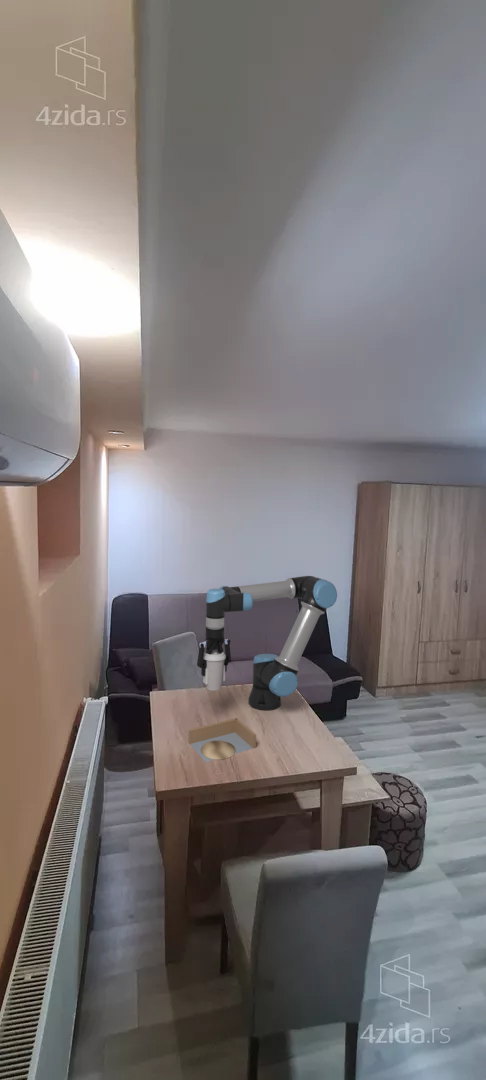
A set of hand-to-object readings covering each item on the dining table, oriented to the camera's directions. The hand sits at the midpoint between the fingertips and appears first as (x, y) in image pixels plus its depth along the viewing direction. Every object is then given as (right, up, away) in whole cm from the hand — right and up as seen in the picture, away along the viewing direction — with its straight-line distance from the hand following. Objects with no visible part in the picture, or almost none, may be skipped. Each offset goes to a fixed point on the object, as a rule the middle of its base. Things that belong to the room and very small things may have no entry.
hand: (213, 681), depth 191 cm
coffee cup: (0, -3, 0) cm, 3 cm away
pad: (+3, -20, -18) cm, 27 cm away
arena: (+4, -21, -14) cm, 25 cm away
